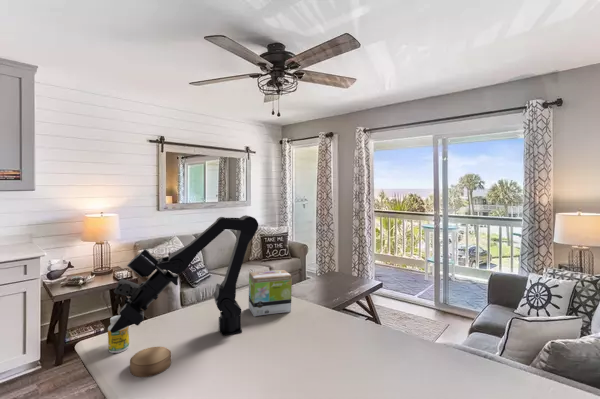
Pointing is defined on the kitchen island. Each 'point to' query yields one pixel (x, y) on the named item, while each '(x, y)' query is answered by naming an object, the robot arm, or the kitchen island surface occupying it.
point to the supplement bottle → (117, 337)
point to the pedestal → (150, 361)
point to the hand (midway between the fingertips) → (113, 327)
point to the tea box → (270, 292)
